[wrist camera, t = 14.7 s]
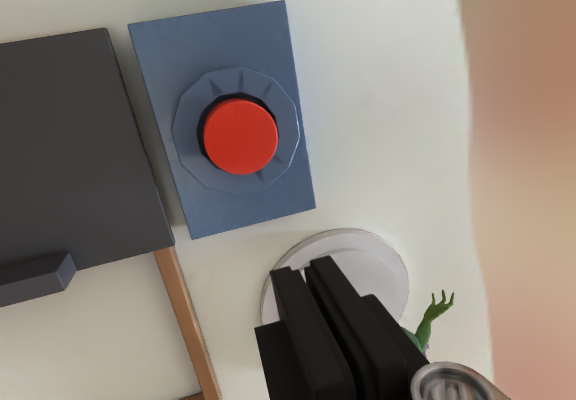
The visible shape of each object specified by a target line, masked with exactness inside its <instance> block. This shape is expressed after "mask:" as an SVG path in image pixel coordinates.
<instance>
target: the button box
mask: <svg viewBox="0 0 576 400" xmlns="http://www.w3.org/2000/svg"><path fill="white" fill-rule="evenodd" d="M128 29H129V32H130V36H131V39H132V42H133V46H134V49H135V52H136V56H137V59H138V62H139V66H140V69H141V72H142V76H143V79H144V82H145V86H146V89H147V92H148V96H149V99H150V102H151V106H152V109H153V112H154V116H155V119H156V122H157V126H158V129H159V132H160V136H161V139H162V142H163V146H164V149H165V152H166V156H167V159H168V162H169V166H170V169H171V172H172V176H173V179H174V182H175V186H176V189H177V192H178V196H179V199H180V202H181V206H182V209H183V212H184V216H185V219H186V222H187V226H188V229H189V232H190V236H191V239H192V240H194V239H198V238H201V237H205V236H209V235H213V234H217V233H221V232H225V231H229V230H233V229H237V228H240V227H244V226H248V225H252V224H256V223H260V222H264V221H268V220H272V219H276V218H279V217H283V216H287V215H291V214H295V213H299V212H303V211H307V210H311V209H315V208H316V204H315V197H314V191H313V184H312V177H311V171H310V164H309V157H308V151H307V144H306V137H305V131H304V124H303V117H302V111H301V104H300V97H299V91H298V84H297V77H296V71H295V64H294V57H293V51H292V44H291V37H290V31H289V24H288V17H287V11H286V4H285V0H281V1H275V2H268V3H262V4H255V5H249V6H243V7H236V8H230V9H223V10H217V11H211V12H204V13H198V14H191V15H185V16H179V17H172V18H166V19H159V20H153V21H146V22H140V23H134V24H128ZM233 98H241V99H246V100H249V101H252V102H254V103H255V104H257V105H259V106H260V107H262V108H263V109H265V110H266V111H267V112H268V113H269V115H270V116H271V117H272V119H273V121H274V123H275V125H276V129H277V134H278V141H277V147H276V150H275V153H274V155H273V156H272V158H271V159H270V161H269V162H268V163H267V164H266V165H265V166H264V167H262V168H261V169H259V170H258V171H255V172H253V173H250V174H243V175H238V174H232V173H229V172H226V171H224V170H222V169H220V168H219V167H218V166H216V165H215V164H214V163H213V162H212V160H211V159H210V157H209V156H208V154H207V152H206V149H205V145H204V139H203V126H204V122H205V119H206V117H207V115H208V113H209V112H210V111H211V110H212V109H213V107H215V106H216V105H217V104H219V103H220V102H222V101H225V100H228V99H233Z"/></svg>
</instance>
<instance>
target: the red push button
mask: <svg viewBox="0 0 576 400" xmlns="http://www.w3.org/2000/svg"><path fill="white" fill-rule="evenodd" d="M203 139H204V145H205V149H206V152H207V154H208V156H209V157H210V159H211V160H212V162H213V163H214V164H215V165H216V166H218V167H219V168H220V169H222V170H224V171H226V172H229V173H232V174H238V175H243V174H250V173H253V172H255V171H258V170H259V169H261V168H262V167H264V166H265V165H266V164H267V163H268V162H269V161H270V159H271V158H272V156H273V155H274V153H275V150H276V147H277V141H278V134H277V129H276V125H275V123H274V121H273V119H272V117H271V116H270V115H269V113H268V112H267V111H266V110H265V109H263V108H262V107H260V106H259V105H257V104H255V103H254V102H252V101H249V100H246V99H241V98H233V99H228V100H225V101H222V102H220V103H219V104H217V105H216V106H215V107H213V109H212V110H211V111H210V112H209V113H208V115H207V117H206V119H205V122H204V126H203Z"/></svg>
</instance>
